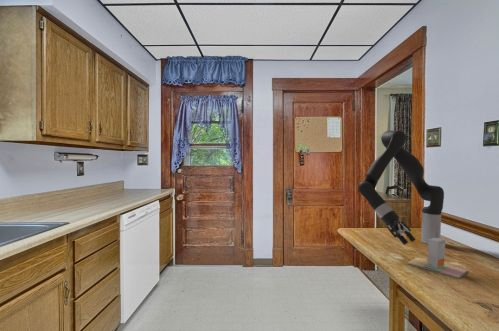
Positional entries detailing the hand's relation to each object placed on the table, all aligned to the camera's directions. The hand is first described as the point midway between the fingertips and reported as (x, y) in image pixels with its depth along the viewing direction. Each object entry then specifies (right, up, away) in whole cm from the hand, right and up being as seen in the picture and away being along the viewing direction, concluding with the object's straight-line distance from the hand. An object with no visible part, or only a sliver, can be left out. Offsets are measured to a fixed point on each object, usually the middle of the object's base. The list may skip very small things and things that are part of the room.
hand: (410, 242), depth 134 cm
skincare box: (+7, -9, -8) cm, 14 cm away
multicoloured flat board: (+7, -9, -8) cm, 14 cm away
